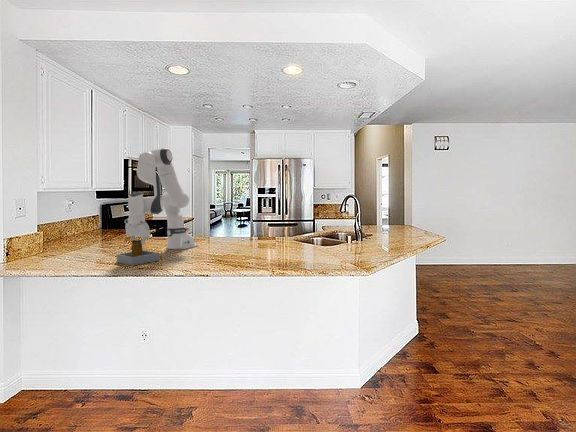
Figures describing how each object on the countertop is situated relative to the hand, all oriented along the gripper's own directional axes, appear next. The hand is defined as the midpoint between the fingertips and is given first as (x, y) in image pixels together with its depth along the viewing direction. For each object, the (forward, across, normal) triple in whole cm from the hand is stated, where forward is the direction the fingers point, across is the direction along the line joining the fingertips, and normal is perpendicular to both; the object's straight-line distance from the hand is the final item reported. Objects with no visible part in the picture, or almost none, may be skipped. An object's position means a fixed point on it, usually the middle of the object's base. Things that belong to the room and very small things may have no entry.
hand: (138, 244), depth 253 cm
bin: (+10, 0, +1) cm, 10 cm away
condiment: (+10, 0, +1) cm, 10 cm away
